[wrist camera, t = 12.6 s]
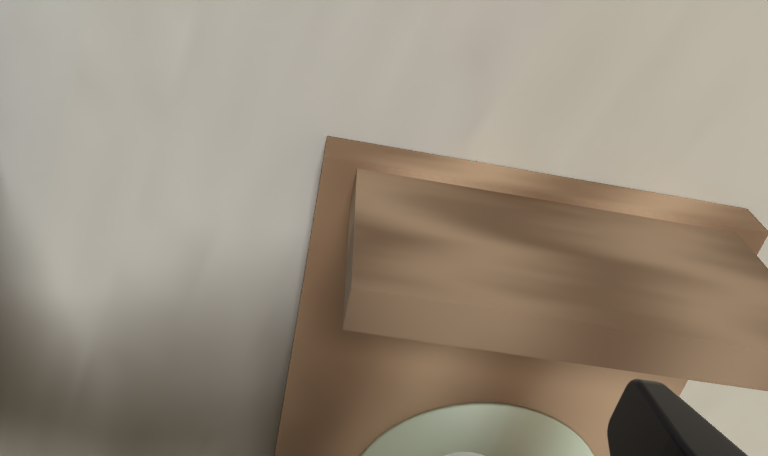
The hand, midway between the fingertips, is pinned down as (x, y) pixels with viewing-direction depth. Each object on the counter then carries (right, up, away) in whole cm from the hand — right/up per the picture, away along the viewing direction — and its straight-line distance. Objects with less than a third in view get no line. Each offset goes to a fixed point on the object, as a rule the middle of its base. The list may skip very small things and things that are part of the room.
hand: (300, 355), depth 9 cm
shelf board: (+4, -6, +19) cm, 20 cm away
